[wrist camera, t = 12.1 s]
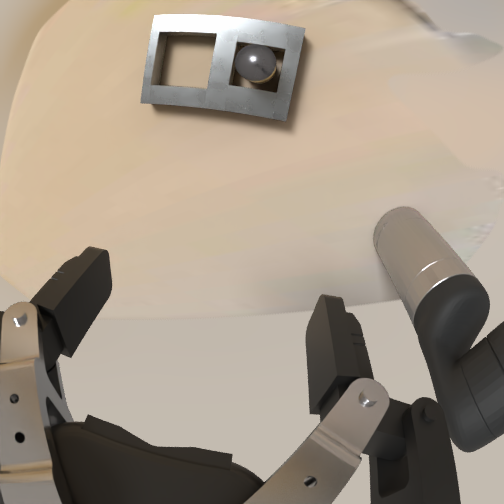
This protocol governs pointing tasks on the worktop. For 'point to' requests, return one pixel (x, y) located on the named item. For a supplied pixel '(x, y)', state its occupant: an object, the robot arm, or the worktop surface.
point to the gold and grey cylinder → (256, 63)
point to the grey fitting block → (224, 64)
